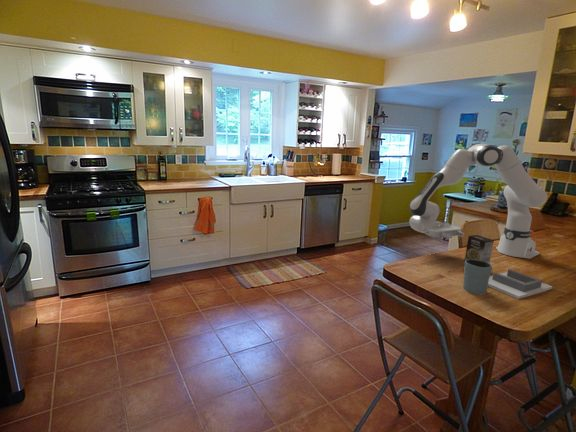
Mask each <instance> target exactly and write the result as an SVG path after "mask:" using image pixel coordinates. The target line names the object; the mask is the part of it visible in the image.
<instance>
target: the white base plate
mask: <svg viewBox="0 0 576 432" xmlns="http://www.w3.org/2000/svg"><path fill="white" fill-rule="evenodd" d="M487 287H489V288H491V289H494V290H495V291H498V292H501V293H503V294H506V295H508V296H511V297H512V298H514V299H517V300H520V299H524V298H527V297H530V296H533V295H537V294H541V293H543V292H547V291H550V290H553V286H552V285H549V284H547V283H543V280H541V279H538V278H536V277H532V276H530V275H527V274H524V273H521V272H520V271H519V272H518V271H516V270H513V269H508V270H507V271H505V272H501V273H497V272H493V274H492V275H490V277H489V282H488V285H487Z"/></svg>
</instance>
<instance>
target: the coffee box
mask: <svg viewBox="0 0 576 432" xmlns="http://www.w3.org/2000/svg"><path fill="white" fill-rule="evenodd" d="M494 241H495V240H493V239H491V238H487V237H484V236H482V235H479V234H477V235H474V234H473V235H468V238H467V242H466V243H467V244H466V249H465V255H464V261H463V267H464V268H465V260H467V259H478V260H483V261H486V262H489V263H491V262H490V261H491V257H492V253H493V246H494Z"/></svg>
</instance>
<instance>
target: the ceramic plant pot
mask: <svg viewBox="0 0 576 432" xmlns="http://www.w3.org/2000/svg"><path fill="white" fill-rule="evenodd" d="M464 261H465V267H464V269H463V270H464V271H463V275H464V276H463V284H462V287H463V290H464V291H465V292H468V293H471V294H475V295H484V294H486V293H487V288H488V286H487V285H488V282H489V277H490V276H491V273H492V269H493V264H492V263H491V262H486V261H483V260H478V259H467V260H465V259H464Z"/></svg>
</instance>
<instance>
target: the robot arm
mask: <svg viewBox="0 0 576 432" xmlns="http://www.w3.org/2000/svg"><path fill="white" fill-rule="evenodd" d="M475 164H476V165H478V166H483V167H491V166H494V167H495V169H496V171H497V173H498V174H499V176H500V178H501V180H502V181H503V183H504V184H505V185H506V186H505V187H504V189H503V197H504V198H505V201H506V204H507V205H506V206H507V218H506V223H505V224H506V225H505V227H504V229H503V234H502V235H501V236H500V239H499V242H498V246H496V247H495V249H496V250H497V251H498V252H499V253H501V254H503V255H506V256H509V257H514V258H515V257H516V258H524V259H528V260H530V259H532V258H535V257H537V256H539V255H540V252H539V251H537V250H536V244H537V243H536V242H535V241H534V240H533V239H532V238H531V235H533V234H534V230H531V226H532V225H531V224H532V220H533V216H532V214H531V212H530V208H539V207H541V206H544V204H546V202H547V200H548V193H547V192H546V191H545V190H544V189H543V188H541V187H540V186H539V185H538V184H537V183H536V181H535V180H534V179H533V178H532V177H531V176H530V175H529V173H528V172H527V171H526V169H525V167H524V166H523V164H522V162H521V160H520V158H519V157H518V156H517V154H516V152H515V151H514V150H513V148H512V147H510V146H509V145H506V144H504V145H499V146H495V145H491V144H487V143H479V142H477V143H474V144H471V145H469V147H467V148H459V149H456V150H455V151H454V152H453V154H452V155H451V156H450V157H449V158H448V159H447V161H446V163H445V165H444V166H443V167H442V169H440V171H439V170H438V172H437V173H435V174H433V176H431V178H429V179H428V181H427V183H426V184H425V185H424V186H423V188H422V189H421V190H420V192H419V193H418V194H417V195H416V196H415V197H414V198H413V199H411V201H410V202H409V205H408V206H409V207H408V208H409V212H410V214H411V215H412V216H411V217H410V218H409V220H408V221H409V222H408V223H409V226H410V228H411V229H413V230H414V231H416V232H417V233H418V232H419V233H421V234H425V235H427V236H428V237H431V238H435V239H440V238H445V239H446V238H447V239H452V237H455V236H456V237H457V236H458V237H462V238H464V237H465V233H464V232H462V231H463V230H462V228H461V227H459V226H456V225H453V224H450V223H449V222H445V221H439V220H438V217H439V215H440V214H441V213H440V212H441V209H440V206H439V205H438V203H436V202H432V201H430V198H431V197H432V196H433V195H434V193H435V192H436V191H437V189H439V188H441V187H443V186H444V187H445V186H452V185H453V186H454V185H456V184H458V183H459V182H461V180H462V179H463V178H464V176H465V174H466V173H467V171H468V170H469V168H470V167H471V166H473V165H475Z"/></svg>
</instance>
